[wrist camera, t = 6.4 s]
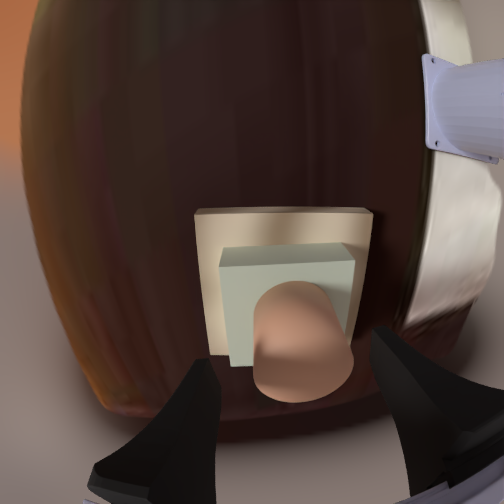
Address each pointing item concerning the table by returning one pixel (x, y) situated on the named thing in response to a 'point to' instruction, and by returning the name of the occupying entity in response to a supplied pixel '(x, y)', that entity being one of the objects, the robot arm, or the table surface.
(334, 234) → the birch slab
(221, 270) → the green block
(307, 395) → the terracotta cylinder
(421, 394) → the robot arm
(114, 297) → the table surface
